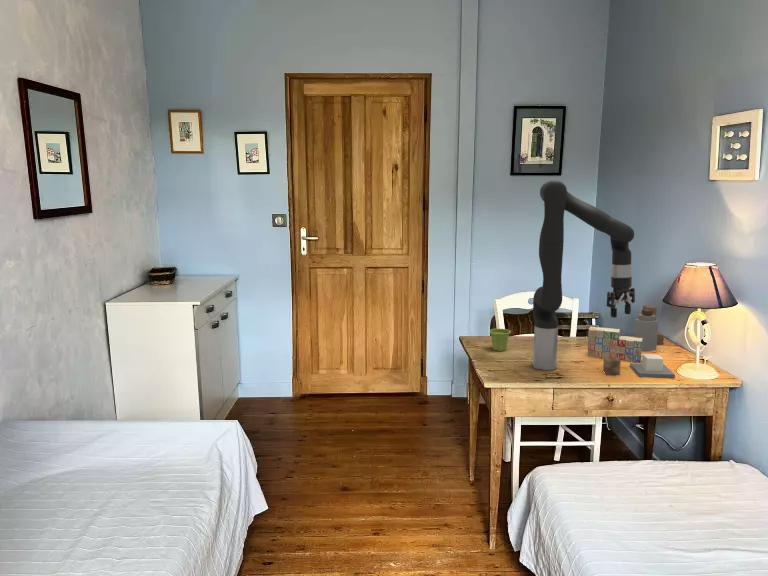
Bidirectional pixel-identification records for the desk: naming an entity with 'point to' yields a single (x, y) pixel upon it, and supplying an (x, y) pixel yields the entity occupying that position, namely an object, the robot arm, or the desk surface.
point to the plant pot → (499, 338)
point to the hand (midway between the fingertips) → (620, 315)
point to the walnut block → (611, 366)
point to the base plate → (651, 373)
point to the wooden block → (659, 336)
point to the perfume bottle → (646, 330)
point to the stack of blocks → (613, 344)
